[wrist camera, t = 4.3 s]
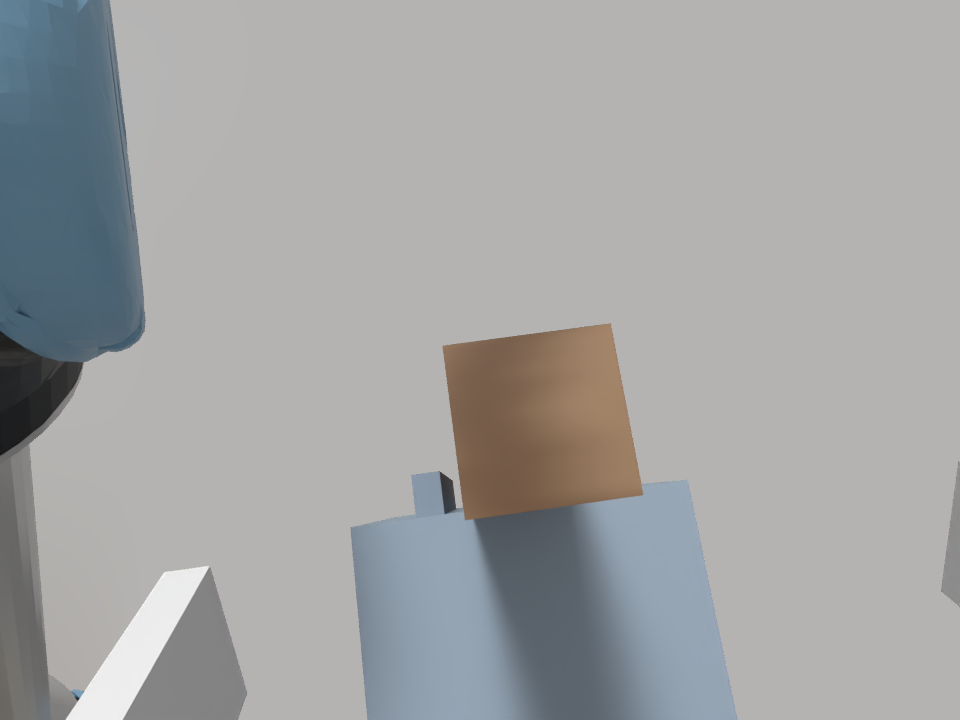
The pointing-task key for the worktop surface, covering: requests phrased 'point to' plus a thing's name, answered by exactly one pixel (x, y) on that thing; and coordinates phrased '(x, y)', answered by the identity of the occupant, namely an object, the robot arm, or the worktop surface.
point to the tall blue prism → (539, 612)
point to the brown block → (540, 422)
